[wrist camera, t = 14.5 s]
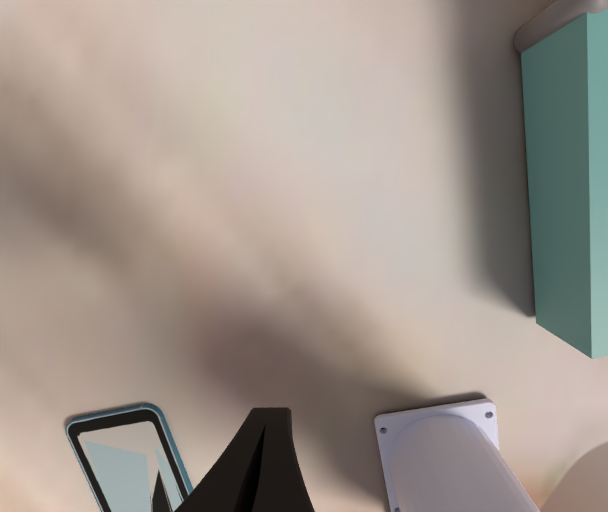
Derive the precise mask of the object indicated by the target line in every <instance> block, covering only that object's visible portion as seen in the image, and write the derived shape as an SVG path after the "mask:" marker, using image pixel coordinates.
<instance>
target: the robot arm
mask: <svg viewBox="0 0 608 512" xmlns="http://www.w3.org/2000/svg"><path fill="white" fill-rule="evenodd" d="M486 412H489V413H487V414H485V413H486ZM374 424H375V429H376V435H377V440H378V446H379V451H380V456H381V462H382V467H383V472H384V478H385V483H386V488H387V494H388V499H389V504H390V510H391V512H540V511H539V509H538V508H537V506H536V505H535V503H534V502H533V500H532V499H531V498H530V496H529V495H528V493H527V492H526V490H525V489H524V487H523V486H522V484H521V483H520V481H519V480H518V479H517V477H516V476H515V474H514V473H513V471H512V470H511V468H510V467H509V465H508V464H507V462H506V461H505V460H504V458H503V457H502V455H501V454H500V452H499V440H498V428H497V416H496V406H495V404H494V403H493V401H492V400H490V399H479V400H472V401H466V402H459V403H453V404H446V405H440V406H433V407H427V408H420V409H414V410H407V411H401V412H394V413H388V414H381V415H378V416H376V417H375V419H374ZM383 427H384V428H385V429H381V428H383ZM174 512H315V511H314V508H313V506H312V503H311V501H310V498H309V495H308V493H307V490H306V487H305V484H304V481H303V477H302V474H301V471H300V468H299V464H298V460H297V456H296V452H295V448H294V444H293V438H292V420H291V410H290V409H289V408H253V409H252V410H251V411H250V413H249V415H248V416H247V418H246V419H245V421H244V423H243V424H242V426H241V427H240V429H239V430H238V432H237V433H236V435H235V436H234V438H233V439H232V441H231V442H230V444H229V445H228V446H227V448H226V449H225V451H224V452H223V453H222V455H221V456H220V458H219V459H218V460H217V461H216V463H215V464H214V465H213V467H212V468H211V469H210V470H209V472H208V473H207V474H206V475H205V477H204V478H203V479H202V480H201V482H200V483H199V484H198V485H197V486H196V488H195V489H194V490H193V491H192V492H191V493H190V494H189V496H188V497H187V498H186V499H185V500H184V501H183V502H182V503H181V504H180V505H179V506H178V508H177V509H176V510H175V511H174Z"/></svg>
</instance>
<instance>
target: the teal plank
mask: <svg viewBox="0 0 608 512" xmlns="http://www.w3.org/2000/svg"><path fill="white" fill-rule="evenodd" d="M514 45H515V48H516V50H517V51H518V52H520V53H521V64H522V82H523V100H524V117H525V135H526V152H527V170H528V187H529V205H530V223H531V240H532V258H533V275H534V293H535V311H536V323H537V324H538V325H540V326H541V327H543V328H545V329H546V330H548V331H549V332H551V333H552V334H554V335H556V336H557V337H559V338H560V339H562V340H563V341H565V342H567V343H568V344H570V345H571V346H573V347H574V348H576V349H577V350H579V351H581V352H582V353H584V354H585V355H587V356H588V357H590V358H592V359H593V358H599V357H605V356H608V0H556V1H555V2H554V3H552V4H551V5H550V6H548V7H547V8H546V9H544V10H543V11H542V12H540V13H539V14H538V15H536V16H535V17H534V18H532V19H531V20H530V21H528V22H527V23H526V24H524V25H523V26H522V27H520V28H519V30H518V31H517V32H516V34H515V38H514Z"/></svg>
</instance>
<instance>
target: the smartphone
mask: <svg viewBox="0 0 608 512" xmlns="http://www.w3.org/2000/svg"><path fill="white" fill-rule="evenodd" d="M66 435H67V437H68V440H69V442H70V444H71V446H72V448H73V450H74V453H75V455H76V457H77V459H78V461H79V464H80V466H81V468H82V470H83V472H84V475H85V477H86V479H87V481H88V483H89V486H90V488H91V490H92V492H93V494H94V496H95V499H96V501H97V503H98V505H99V507H100V510H101V512H174V511H175V510H176V509H177V508H178V506H179V505H180V504H181V503H182V502H183V501H184V500H185V499H186V498H187V497H188V496H189V494H190V493H191V492H192V491H193V487H192V485H191V482H190V480H189V477H188V475H187V472H186V470H185V467H184V465H183V462H182V460H181V457H180V455H179V452H178V450H177V447H176V445H175V442H174V440H173V437H172V435H171V432H170V430H169V427H168V425H167V422H166V420H165V417H164V415H163V413H162V411H161V410H160V409H159V408H158V407H157V406H155V405H152V404H142V405H137V406H132V407H129V408H128V407H127V408H122V409H117V410H114V411H109V412H101V413H97V414H91V415H88V416H87V415H86V416H83V417H77V418H74V419H73V420H72V421H71V422H70V423H69V424H68V425H67V427H66Z"/></svg>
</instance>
